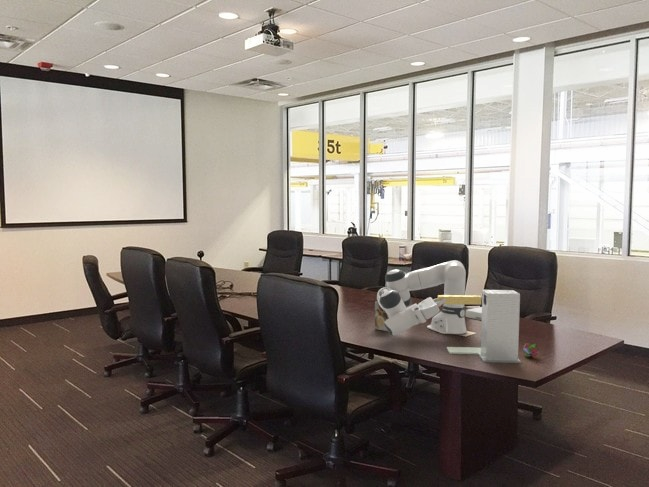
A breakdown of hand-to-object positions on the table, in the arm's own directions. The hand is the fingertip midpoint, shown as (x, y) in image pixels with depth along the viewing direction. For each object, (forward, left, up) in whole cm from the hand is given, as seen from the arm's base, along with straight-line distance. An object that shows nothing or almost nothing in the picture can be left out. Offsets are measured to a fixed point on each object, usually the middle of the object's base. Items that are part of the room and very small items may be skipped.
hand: (444, 298), depth 238 cm
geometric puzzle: (+23, +33, -28) cm, 49 cm away
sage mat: (+1, +19, -28) cm, 33 cm away
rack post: (+16, +19, -28) cm, 37 cm away
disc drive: (-42, +91, -28) cm, 104 cm away
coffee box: (-56, +15, -28) cm, 64 cm away
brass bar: (+4, +5, -2) cm, 7 cm away
